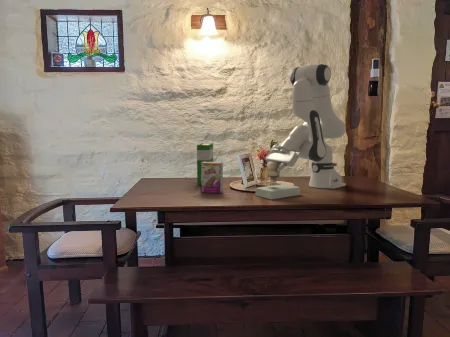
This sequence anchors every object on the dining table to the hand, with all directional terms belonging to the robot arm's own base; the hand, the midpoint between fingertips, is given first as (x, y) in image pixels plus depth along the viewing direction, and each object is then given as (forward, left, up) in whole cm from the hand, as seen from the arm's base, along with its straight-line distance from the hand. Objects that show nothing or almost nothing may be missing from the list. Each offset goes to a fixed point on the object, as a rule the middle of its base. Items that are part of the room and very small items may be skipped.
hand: (272, 169), depth 194 cm
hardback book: (+6, -55, -14) cm, 57 cm away
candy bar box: (+20, -26, -14) cm, 36 cm away
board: (-4, 0, -13) cm, 14 cm away
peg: (-1, 0, -6) cm, 6 cm away
